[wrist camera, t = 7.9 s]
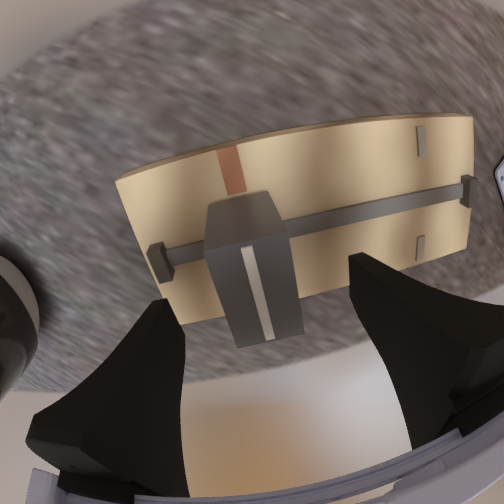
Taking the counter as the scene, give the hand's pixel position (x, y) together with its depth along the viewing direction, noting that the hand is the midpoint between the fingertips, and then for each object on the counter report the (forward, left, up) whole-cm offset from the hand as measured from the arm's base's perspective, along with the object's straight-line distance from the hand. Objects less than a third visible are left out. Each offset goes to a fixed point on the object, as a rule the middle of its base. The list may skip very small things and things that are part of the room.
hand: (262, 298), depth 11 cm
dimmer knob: (0, 0, -5) cm, 5 cm away
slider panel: (-3, -4, -8) cm, 9 cm away
